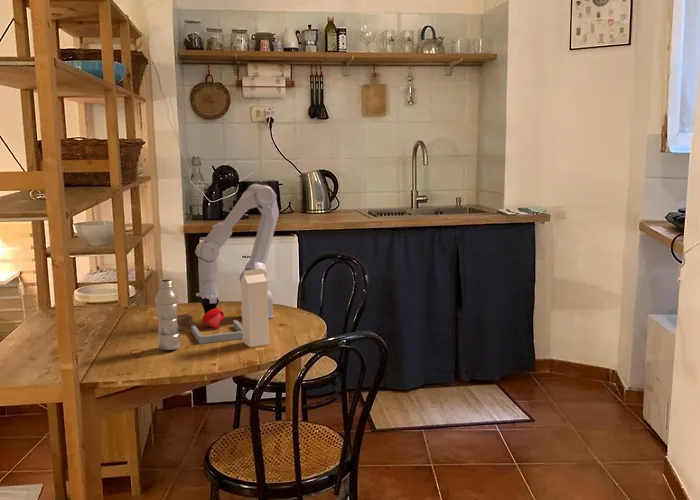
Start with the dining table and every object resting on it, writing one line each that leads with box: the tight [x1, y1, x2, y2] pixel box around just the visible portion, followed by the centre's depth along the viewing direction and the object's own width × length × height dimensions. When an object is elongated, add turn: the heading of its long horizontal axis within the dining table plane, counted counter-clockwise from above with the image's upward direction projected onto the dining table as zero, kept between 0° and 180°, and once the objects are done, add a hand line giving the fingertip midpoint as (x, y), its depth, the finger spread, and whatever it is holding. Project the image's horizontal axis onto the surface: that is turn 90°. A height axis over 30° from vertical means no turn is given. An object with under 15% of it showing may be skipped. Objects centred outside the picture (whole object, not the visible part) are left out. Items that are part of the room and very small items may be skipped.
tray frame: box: [190, 319, 243, 345], centre depth 209 cm, size 14×14×2 cm
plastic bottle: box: [154, 278, 181, 351], centre depth 194 cm, size 6×7×20 cm
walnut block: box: [177, 313, 194, 332], centre depth 217 cm, size 4×4×4 cm
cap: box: [201, 307, 226, 330], centre depth 217 cm, size 8×6×6 cm
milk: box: [240, 269, 270, 348], centre depth 199 cm, size 6×6×22 cm
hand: (210, 320), depth 222 cm, fingers closed
